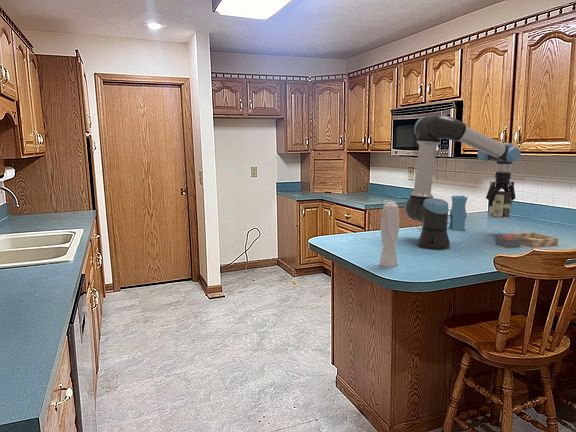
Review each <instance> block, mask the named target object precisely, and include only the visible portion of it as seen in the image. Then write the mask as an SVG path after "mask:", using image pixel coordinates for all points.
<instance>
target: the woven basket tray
mask: <svg viewBox="0 0 576 432" xmlns="http://www.w3.org/2000/svg"><path fill="white" fill-rule="evenodd" d="M507 235H513V237H515V238H519V239H521V244H520V245H523V246H526V247H529V248H543V247H554V246H559V238H557V237H555V236H549V235H546V234H542V233H538V232H533V231H531V232H516V233H515V232H514V233H508V234H507Z"/></svg>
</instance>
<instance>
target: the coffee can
mask: <svg viewBox="0 0 576 432" xmlns="http://www.w3.org/2000/svg"><path fill="white" fill-rule="evenodd" d="M493 193H495V198H494V200H493V201H495V202H494V213H492V212H489V213H488V216H489V218H493V219H510V213H511V206H510V203H511V194H512V192H505V191H504V190H499V191H498V192H493Z"/></svg>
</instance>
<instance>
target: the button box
mask: <svg viewBox="0 0 576 432" xmlns="http://www.w3.org/2000/svg"><path fill="white" fill-rule="evenodd" d="M503 236H504V235H500V236H495V240H494V242H495V244H494V245H497V246H499V247H501V248H502V247H503V248H506V249H507V248H509V249H511V248H512V249H513V248H521V245H522V244H521V239H519V238H515V237H513V239H505V238H503Z"/></svg>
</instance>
